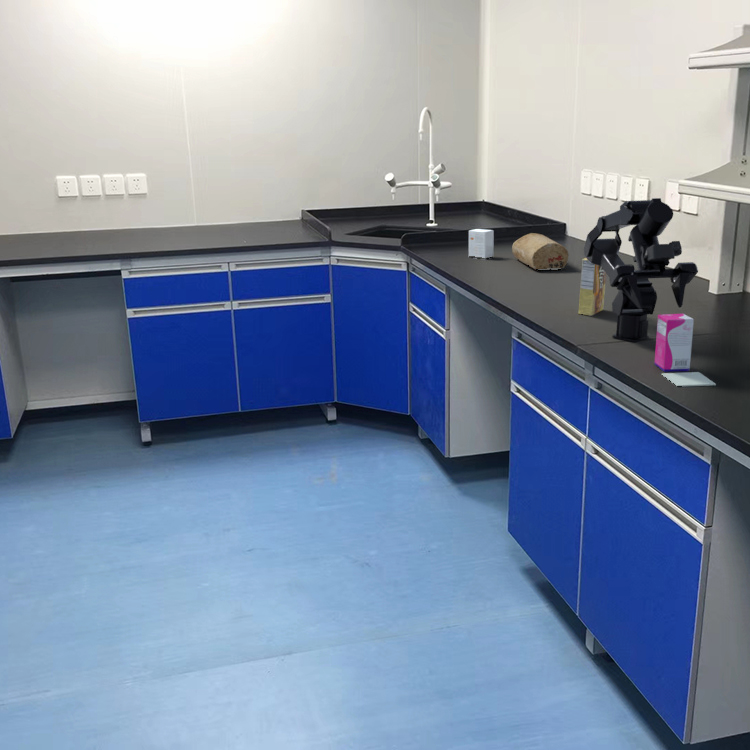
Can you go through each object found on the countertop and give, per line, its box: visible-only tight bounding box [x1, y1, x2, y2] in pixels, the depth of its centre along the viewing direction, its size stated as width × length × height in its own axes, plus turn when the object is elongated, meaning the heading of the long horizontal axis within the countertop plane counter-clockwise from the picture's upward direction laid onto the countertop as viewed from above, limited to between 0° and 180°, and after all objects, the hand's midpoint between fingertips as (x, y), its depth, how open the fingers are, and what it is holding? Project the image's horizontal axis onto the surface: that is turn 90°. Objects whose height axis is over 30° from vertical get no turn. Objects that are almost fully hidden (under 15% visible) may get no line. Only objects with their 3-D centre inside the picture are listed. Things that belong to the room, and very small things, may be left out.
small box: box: [468, 228, 495, 258], centre depth 315 cm, size 8×6×10 cm
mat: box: [661, 371, 717, 387], centre depth 170 cm, size 8×8×1 cm
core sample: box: [511, 232, 570, 270], centre depth 298 cm, size 14×26×10 cm, turn 7°
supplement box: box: [654, 313, 695, 373], centre depth 177 cm, size 6×6×12 cm
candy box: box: [578, 257, 607, 317], centre depth 227 cm, size 9×4×15 cm, turn 145°
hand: (660, 307), depth 184 cm, fingers open, 9 cm apart
